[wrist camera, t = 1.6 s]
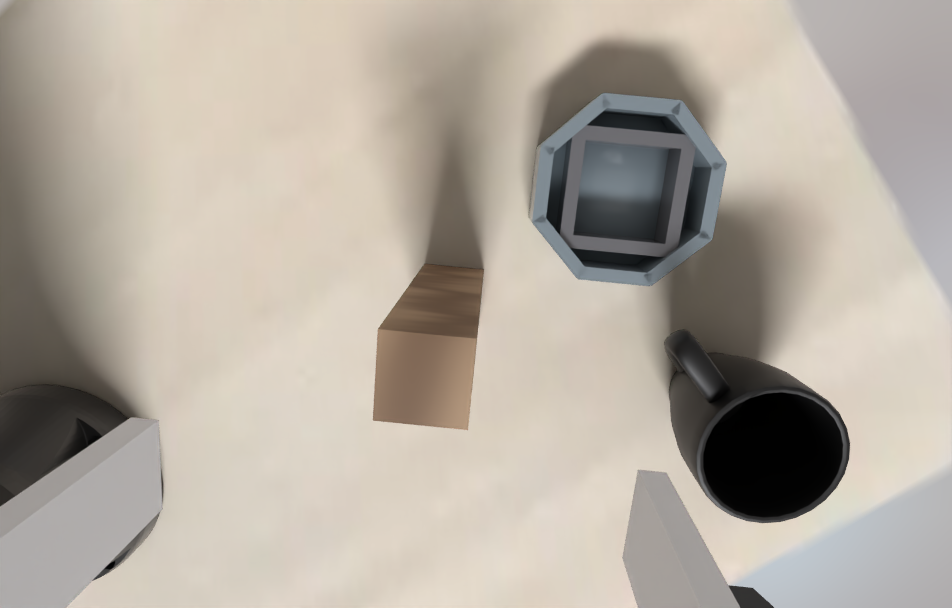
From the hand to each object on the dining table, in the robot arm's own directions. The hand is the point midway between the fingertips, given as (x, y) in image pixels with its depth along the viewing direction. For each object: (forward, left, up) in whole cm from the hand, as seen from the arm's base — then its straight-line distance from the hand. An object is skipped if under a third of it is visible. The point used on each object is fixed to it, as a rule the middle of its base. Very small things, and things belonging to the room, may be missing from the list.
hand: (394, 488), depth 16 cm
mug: (+17, -4, -24) cm, 30 cm away
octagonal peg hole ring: (+10, +8, -24) cm, 27 cm away
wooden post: (0, 0, -24) cm, 24 cm away
